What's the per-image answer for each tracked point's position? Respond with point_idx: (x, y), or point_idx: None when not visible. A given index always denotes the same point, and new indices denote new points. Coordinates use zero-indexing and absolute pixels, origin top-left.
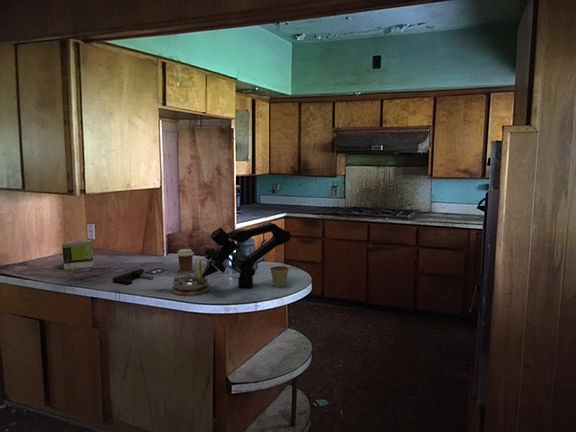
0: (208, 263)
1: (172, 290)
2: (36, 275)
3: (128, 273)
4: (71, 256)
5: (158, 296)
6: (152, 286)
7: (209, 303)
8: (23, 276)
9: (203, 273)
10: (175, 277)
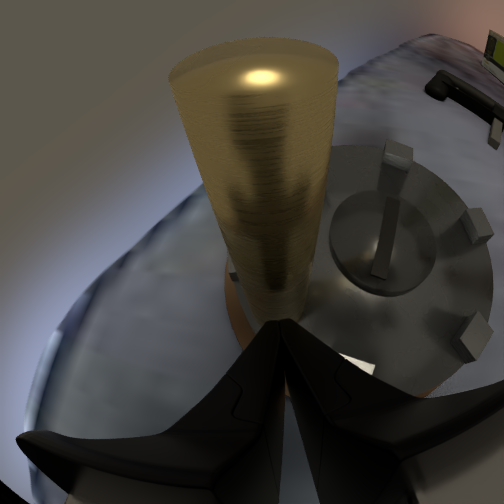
0: (211, 455)
1: None
2: (442, 43)
3: (483, 95)
4: (493, 52)
5: None
6: (422, 132)
7: (68, 348)
8: (433, 37)
9: (272, 334)
10: (409, 147)
